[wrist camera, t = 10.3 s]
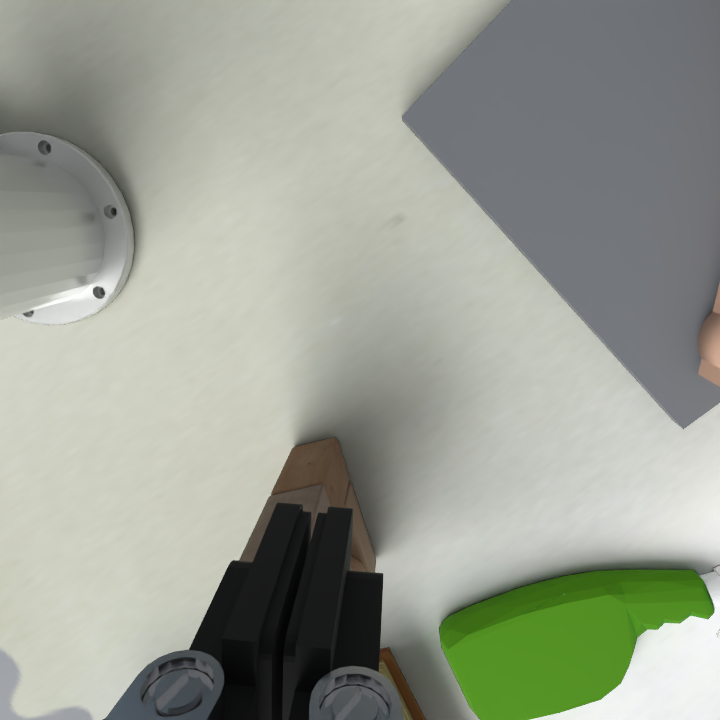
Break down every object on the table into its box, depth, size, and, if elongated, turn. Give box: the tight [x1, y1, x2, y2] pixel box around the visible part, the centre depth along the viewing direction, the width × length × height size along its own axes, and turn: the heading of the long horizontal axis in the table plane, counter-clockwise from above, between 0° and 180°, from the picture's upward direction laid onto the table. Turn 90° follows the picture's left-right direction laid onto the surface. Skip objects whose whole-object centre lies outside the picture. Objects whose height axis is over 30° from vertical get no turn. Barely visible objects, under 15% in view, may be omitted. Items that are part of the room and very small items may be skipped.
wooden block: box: [239, 438, 376, 573], centre depth 33 cm, size 4×11×18 cm, turn 16°
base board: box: [402, 0, 720, 429], centre depth 33 cm, size 27×20×2 cm
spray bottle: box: [439, 565, 720, 720], centre depth 42 cm, size 3×11×24 cm
